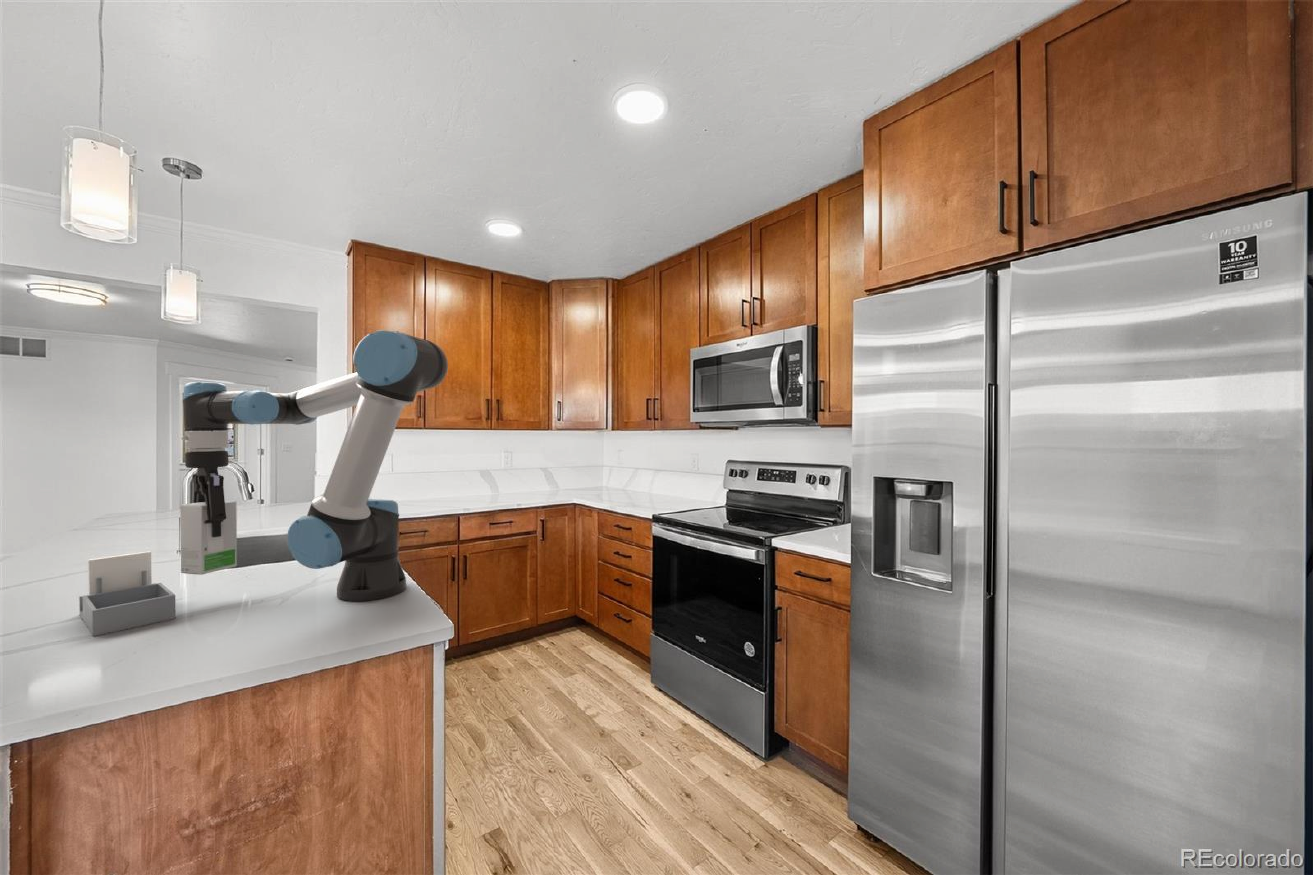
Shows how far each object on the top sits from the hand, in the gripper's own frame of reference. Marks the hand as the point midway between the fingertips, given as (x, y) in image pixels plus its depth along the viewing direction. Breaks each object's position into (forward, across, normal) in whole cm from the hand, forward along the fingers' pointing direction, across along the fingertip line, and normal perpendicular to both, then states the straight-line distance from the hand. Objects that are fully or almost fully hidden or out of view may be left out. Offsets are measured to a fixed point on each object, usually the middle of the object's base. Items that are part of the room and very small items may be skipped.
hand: (209, 548), depth 120 cm
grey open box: (+12, -3, -13) cm, 18 cm away
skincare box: (+5, 0, 0) cm, 5 cm away
